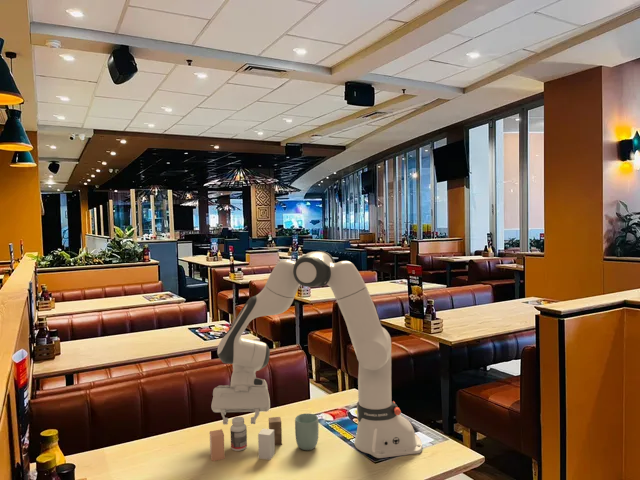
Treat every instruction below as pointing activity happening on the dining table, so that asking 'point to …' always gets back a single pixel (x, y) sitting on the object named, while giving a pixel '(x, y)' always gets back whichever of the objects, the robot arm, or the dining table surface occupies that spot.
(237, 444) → the pill bottle
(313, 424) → the cup
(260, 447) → the grey block
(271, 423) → the walnut block
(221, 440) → the terracotta block
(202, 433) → the dining table surface
